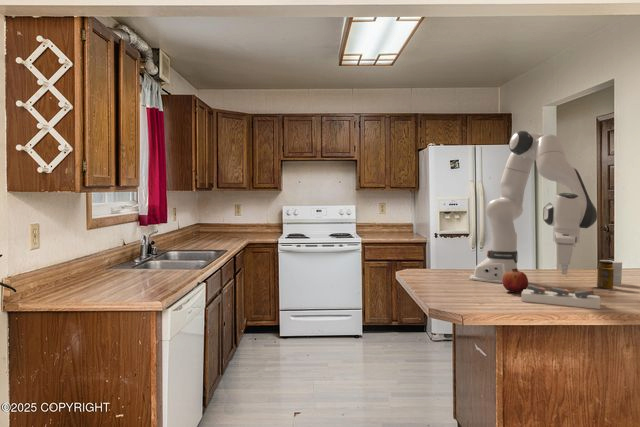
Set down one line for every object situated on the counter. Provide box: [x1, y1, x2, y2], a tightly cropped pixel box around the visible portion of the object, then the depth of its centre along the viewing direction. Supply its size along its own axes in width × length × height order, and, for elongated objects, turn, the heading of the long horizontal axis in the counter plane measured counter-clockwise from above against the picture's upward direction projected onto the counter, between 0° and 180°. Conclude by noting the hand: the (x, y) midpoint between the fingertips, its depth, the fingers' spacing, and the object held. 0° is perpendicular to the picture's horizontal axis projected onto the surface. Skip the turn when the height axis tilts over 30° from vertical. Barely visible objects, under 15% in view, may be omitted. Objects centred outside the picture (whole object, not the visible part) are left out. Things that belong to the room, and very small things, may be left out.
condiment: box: [590, 260, 617, 292], centre depth 208 cm, size 7×8×12 cm
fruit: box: [502, 268, 529, 294], centre depth 199 cm, size 11×10×10 cm
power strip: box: [520, 289, 601, 310], centre depth 180 cm, size 26×9×4 cm, turn 62°
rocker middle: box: [550, 286, 570, 295], centre depth 179 cm, size 6×4×1 cm, turn 62°
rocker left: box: [526, 283, 546, 293], centre depth 183 cm, size 6×4×1 cm, turn 62°
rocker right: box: [574, 288, 595, 296], centre depth 176 cm, size 6×4×1 cm, turn 61°
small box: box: [598, 259, 623, 287], centre depth 219 cm, size 8×6×10 cm
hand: (564, 273), depth 178 cm, fingers closed
